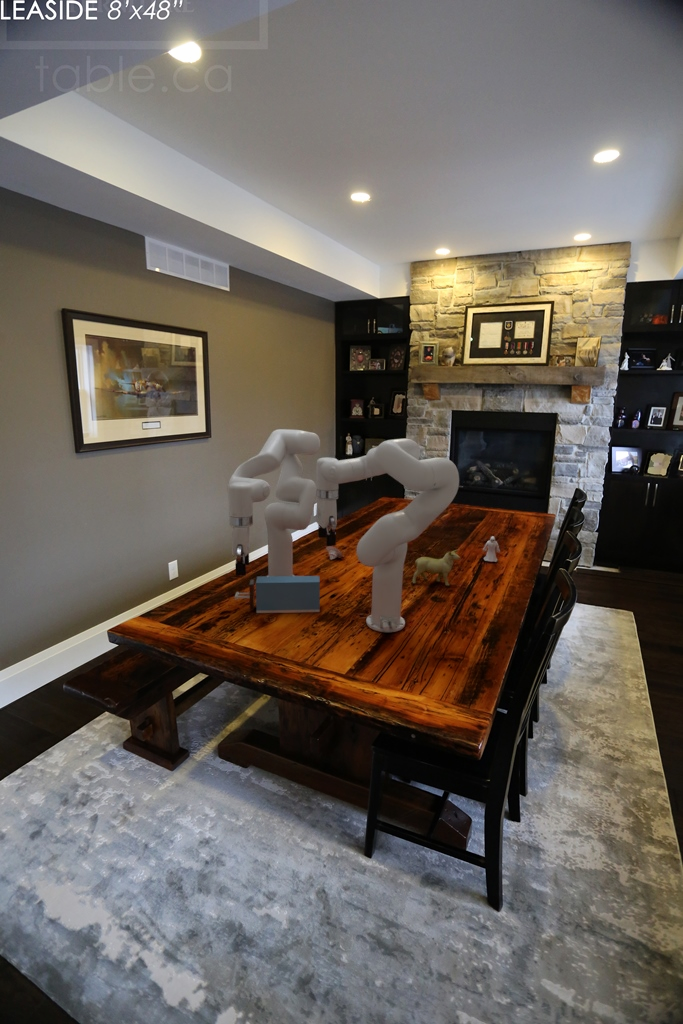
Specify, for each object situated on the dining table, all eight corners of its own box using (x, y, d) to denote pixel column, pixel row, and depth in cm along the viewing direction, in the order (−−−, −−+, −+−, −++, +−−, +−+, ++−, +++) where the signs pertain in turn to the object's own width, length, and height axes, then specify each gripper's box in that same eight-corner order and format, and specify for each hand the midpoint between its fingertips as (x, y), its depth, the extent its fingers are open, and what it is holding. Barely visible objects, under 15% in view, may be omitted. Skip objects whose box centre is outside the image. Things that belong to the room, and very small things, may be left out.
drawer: (234, 610, 169) (233, 584, 166) (236, 604, 173) (235, 579, 171) (310, 609, 171) (310, 583, 168) (310, 603, 175) (310, 578, 173)
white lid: (330, 566, 224) (319, 552, 223) (336, 559, 227) (325, 546, 227) (340, 561, 218) (328, 547, 217) (346, 554, 221) (335, 540, 220)
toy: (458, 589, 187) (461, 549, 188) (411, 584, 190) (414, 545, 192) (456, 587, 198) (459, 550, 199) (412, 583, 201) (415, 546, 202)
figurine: (481, 562, 222) (483, 536, 219) (482, 556, 230) (484, 531, 227) (499, 564, 220) (501, 538, 217) (499, 558, 228) (501, 533, 225)
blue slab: (256, 613, 169) (255, 582, 166) (257, 605, 174) (257, 576, 172) (319, 612, 170) (319, 582, 168) (319, 604, 176) (319, 575, 173)
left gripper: (233, 513, 171) (234, 561, 175) (225, 527, 154) (227, 579, 159) (255, 513, 172) (256, 560, 176) (249, 527, 155) (251, 579, 159)
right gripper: (310, 489, 178) (309, 535, 183) (324, 499, 163) (323, 549, 167) (330, 488, 181) (329, 533, 185) (345, 498, 165) (344, 548, 169)
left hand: (242, 569), depth 167 cm, fingers open, 9 cm apart
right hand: (326, 541), depth 176 cm, fingers open, 9 cm apart
